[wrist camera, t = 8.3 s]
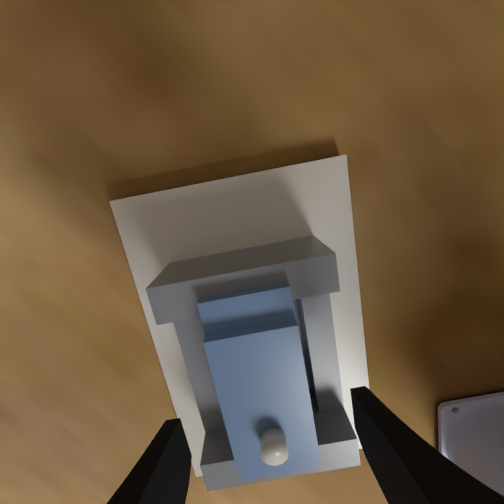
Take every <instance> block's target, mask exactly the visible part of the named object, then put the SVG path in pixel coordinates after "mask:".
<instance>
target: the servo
mask: <svg viewBox="0 0 504 504" xmlns="http://www.w3.org/2000/svg"><path fill="white" fill-rule="evenodd" d="M197 306H198V310H199V314H200V317H201V321H202V325H203V329H204V333H205V338H204V341H203V344H204V348H205V352H206V355H207V359H208V363H209V367H210V370H211V374H212V378H213V382H214V385H215V389H216V393H217V397H218V400H219V404H220V408H221V412H222V415H223V419H224V423H225V427H226V430H227V434H228V438H229V442H230V445H231V449H232V453H233V457H234V460H235V464H236V468H237V470H241V473H242V477H243V480H249V479H255V478H260V477H266V476H272V475H278V474H284V473H290V472H296V471H301V470H307V469H313V468H319V467H320V461H319V456H320V454H319V448H318V442H317V436H316V430H315V424H314V418H313V411H312V405H311V399H310V393H309V387H308V381H307V375H306V369H305V363H304V357H303V351H302V345H301V339H300V333H299V327H298V323H297V321H296V317H295V311H294V305H293V299H292V293H291V287H290V284H289V282H282V283H277V284H272V285H266V286H261V287H256V288H250V289H245V290H240V291H234V292H229V293H224V294H218V295H213V296H208V297H203V298H199V300H198V303H197Z"/></svg>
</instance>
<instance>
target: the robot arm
mask: <svg viewBox="0 0 504 504" xmlns="http://www.w3.org/2000/svg"><path fill="white" fill-rule="evenodd" d="M350 391H351V400H352V408H353V416H354V425H355V430H356V432H357V435H358V438H359V441H360V443H361V446H362V449H363V451H364V454H365V456H366V458H367V461H368V463H369V465H370V467H371V469H372V471H373V473H374V475H375V477H376V479H377V481H378V483H379V485H380V487H381V489H382V491H383V493H384V496H385V498H386V500H387V502H388V504H504V392H499V393H493V394H487V395H482V396H476V397H470V398H464V399H459V400H453V401H447V402H443V403H441V404H439V406H438V444H439V451H437V450H436V449H435V448H433V447H432V446H431V445H430V444H429V443H427V442H426V441H425V440H424V439H422V438H421V437H420V436H419V435H418V434H416V433H415V432H414V431H413V430H412V429H411V428H409V427H408V426H407V425H406V424H405V423H404V422H403V421H401V420H400V419H399V418H398V417H397V416H396V415H395V414H394V413H393V412H392V411H391V410H389V409H388V408H387V407H386V406H385V405H384V404H383V403H382V402H381V401H380V400H379V399H378V398H377V397H376V396H375V395H374V394H373V393H372V392H371V391H370V390H369V389H368V388H367V387H366V386H362V387H356V388H350ZM191 459H192V455H191V451H190V448H189V445H188V442H187V438H186V435H185V432H184V429H183V426H182V422H181V419H180V418H177V419H171V420H166V421H165V423H164V424H163V425H162V427H161V428H160V430H159V431H158V433H157V434H156V436H155V437H154V439H153V440H152V442H151V443H150V445H149V446H148V448H147V449H146V451H145V452H144V453H143V455H142V456H141V458H140V459H139V461H138V462H137V463H136V465H135V466H134V468H133V469H132V471H131V472H130V473H129V475H128V476H127V477H126V479H125V480H124V481H123V483H122V484H121V485H120V487H119V488H118V489H117V491H116V492H115V493H114V495H113V496H112V497H111V499H110V500H109V501H108V502H107V504H185V501H186V496H187V491H188V486H189V478H190V470H191Z"/></svg>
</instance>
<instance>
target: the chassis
mask: <svg viewBox="0 0 504 504" xmlns="http://www.w3.org/2000/svg"><path fill="white" fill-rule="evenodd" d="M109 202H110V205H111V208H112V212H113V215H114V218H115V221H116V224H117V227H118V231H119V234H120V237H121V240H122V243H123V246H124V250H125V253H126V256H127V259H128V262H129V265H130V269H131V272H132V275H133V278H134V281H135V284H136V288H137V291H138V294H139V297H140V300H141V303H142V307H143V310H144V313H145V316H146V319H147V322H148V326H149V329H150V332H151V335H152V338H153V341H154V345H155V348H156V351H157V354H158V357H159V360H160V364H161V367H162V370H163V373H164V376H165V379H166V383H167V386H168V389H169V392H170V395H171V398H172V402H173V405H174V408H175V411H176V414H177V417H178V418H180V419H181V422H182V426H183V429H184V432H185V435H186V438H187V442H188V445H189V448H190V451H191V455H192V459H191V462H192V465H193V468H194V471H195V475H196V477H199V476H203V478H204V481H205V484H206V487H207V491H210V490H216V489H222V488H228V487H233V486H239V485H245V484H251V483H257V482H263V481H269V480H275V479H281V478H287V477H293V476H299V475H305V474H310V473H316V472H322V471H328V470H334V469H340V468H346V467H352V466H358V465H360V457H359V449H362V446H361V443H360V441H359V438H358V435H357V432H356V430H355V425H354V416H353V408H352V400H351V391H350V388H356V387H362V386H366V387H367V388H368V389H369V381H368V370H367V360H366V350H365V340H364V329H363V319H362V309H361V299H360V289H359V278H358V268H357V258H356V248H355V237H354V227H353V217H352V207H351V196H350V186H349V176H348V166H347V155H341V156H336V157H331V158H326V159H321V160H316V161H311V162H306V163H301V164H296V165H291V166H285V167H280V168H275V169H270V170H265V171H260V172H255V173H250V174H245V175H240V176H235V177H229V178H224V179H219V180H214V181H209V182H204V183H199V184H194V185H189V186H184V187H179V188H173V189H168V190H163V191H158V192H153V193H148V194H143V195H138V196H133V197H128V198H123V199H118V200H112V201H109ZM282 282H289V284H290V287H291V293H292V299H293V305H294V311H295V317H296V321H297V323H298V327H299V333H300V339H301V345H302V351H303V357H304V363H305V369H306V375H307V381H308V387H309V393H310V399H311V405H312V411H313V418H314V424H315V430H316V436H317V442H318V448H319V454H320V456H319V461H320V467H319V468H313V469H307V470H301V471H296V472H290V473H284V474H278V475H272V476H266V477H260V478H255V479H249V480H243V477H242V473H241V470H237V468H236V464H235V460H234V457H233V453H232V449H231V445H230V442H229V438H228V434H227V430H226V427H225V423H224V419H223V415H222V412H221V408H220V404H219V400H218V397H217V393H216V389H215V385H214V382H213V378H212V374H211V370H210V367H209V363H208V359H207V355H206V352H205V348H204V344H203V341H204V338H205V333H204V329H203V325H202V321H201V317H200V314H199V310H198V306H197V303H198V300H199V298H203V297H208V296H213V295H218V294H224V293H229V292H234V291H240V290H245V289H250V288H256V287H261V286H266V285H272V284H277V283H282Z"/></svg>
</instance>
